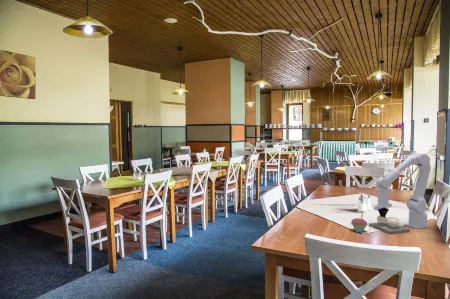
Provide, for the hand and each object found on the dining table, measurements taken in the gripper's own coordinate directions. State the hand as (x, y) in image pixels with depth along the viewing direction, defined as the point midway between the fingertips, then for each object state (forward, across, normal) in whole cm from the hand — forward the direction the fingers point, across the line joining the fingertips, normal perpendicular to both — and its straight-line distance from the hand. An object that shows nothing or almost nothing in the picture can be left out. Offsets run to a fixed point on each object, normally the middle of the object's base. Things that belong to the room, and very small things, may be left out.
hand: (382, 220), depth 188 cm
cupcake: (+4, -19, +2) cm, 19 cm away
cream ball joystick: (+1, -1, -4) cm, 4 cm away
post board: (+4, -1, -4) cm, 6 cm away
